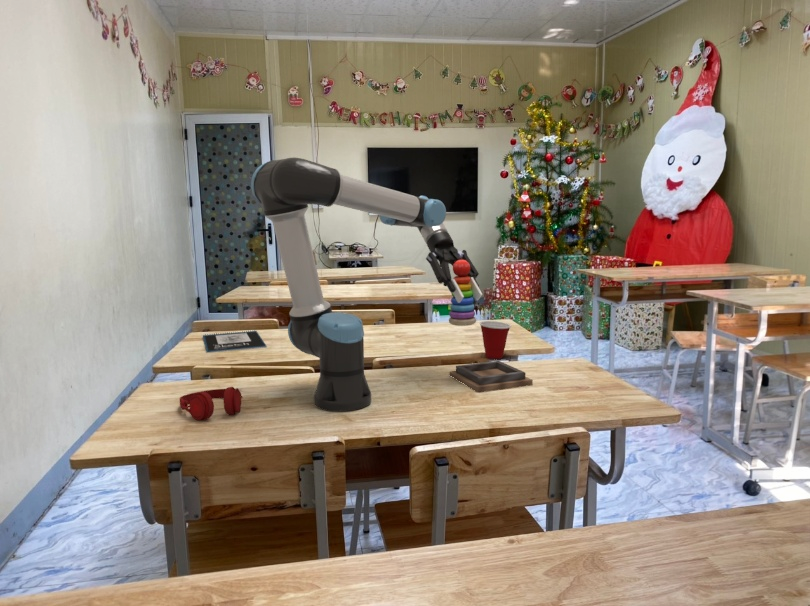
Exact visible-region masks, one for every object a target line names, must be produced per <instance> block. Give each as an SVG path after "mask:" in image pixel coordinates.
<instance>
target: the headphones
mask: <svg viewBox="0 0 810 606" xmlns="http://www.w3.org/2000/svg"><path fill="white" fill-rule="evenodd" d="M242 398H243V395H242V393H241V391H240V389H239V388H238V387H236V388H235V387H234V386H228V387H226V388H218V389H217V388H216V389H207V390H202V391H201V390H200V391H195V392H192V393H187V394H185V395H181V396H180V397H179V407H180V409H181V410H183V411H186V412H188V413H189V414H190V416H191V417H192V418H193V419H194V420H196V421H198V420H199V421H207V420H209V419H210V418H211V417H212V416H213V414H214V411H215V404H214V400H213V399H223V408H224V411H225V414H226V415H228V416H234V415H236V413H240V412H241V408H242Z"/></svg>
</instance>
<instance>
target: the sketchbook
mask: <svg viewBox="0 0 810 606" xmlns="http://www.w3.org/2000/svg"><path fill="white" fill-rule="evenodd" d="M202 339H203V342H204V343H203V344H204V348H205V350H206V353H207V354H209V353H210V354H212V353H221V352H224V353H225V352H233V351H244V350H254V349H264V348H265V349H267V345H266V343H265V341H264V340H263V339H262V337H261V335H260V334H259V333H258V331H257V330H255V329H252V330H251V329H250V330H248V331H247V330H244V331H243V330H241V331H233V332H232V331H231V332H230V331H229V332H220V333H219V332H218V333H217V332H216V333H211V334H208V333H205V334H203V335H202Z"/></svg>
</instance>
